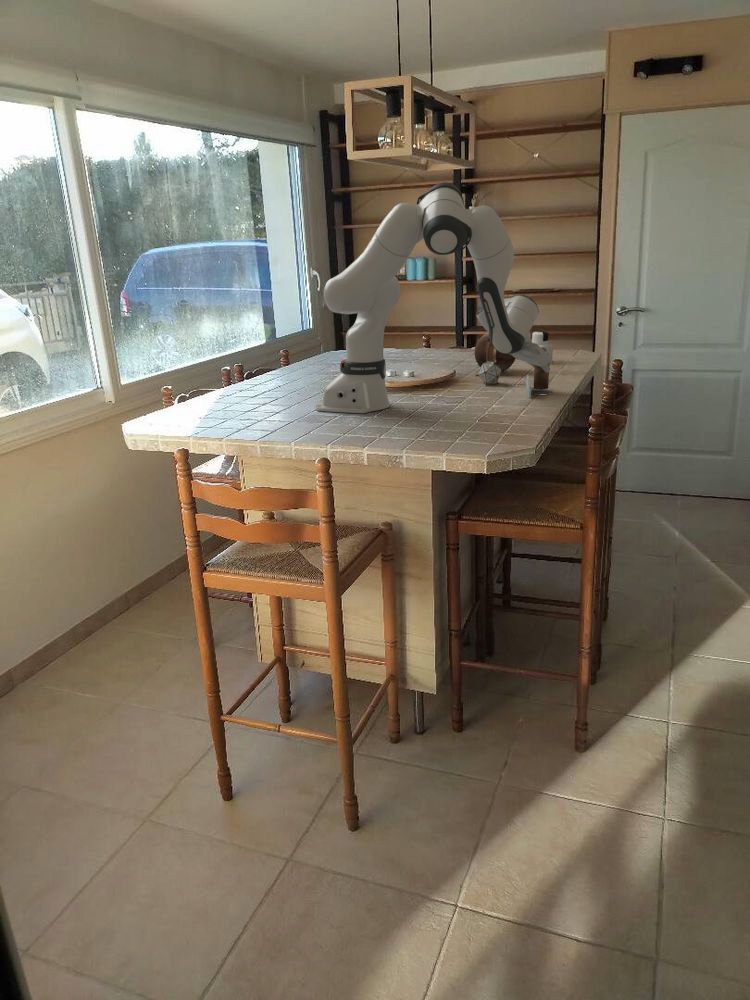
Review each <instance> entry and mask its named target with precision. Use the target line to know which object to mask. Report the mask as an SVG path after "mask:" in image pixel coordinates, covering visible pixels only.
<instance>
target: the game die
mask: <svg viewBox="0 0 750 1000" xmlns="http://www.w3.org/2000/svg"><path fill="white" fill-rule="evenodd" d="M481 363H482V365H481V367H479V371H478V373H477V374H475V377H478V378H479V379H480V380H482V381H483V384H485V387H487V386H488V384H494V383H496V384H497V385H499V382H498V381H499V379H500V376H501V375H502V373H503V372H502V371H504V369H500V368H499V367H498V366H497V365H496V362H495V363H494V360H492V362H487V363H483V362H482V361H481ZM504 372H505V371H504Z"/></svg>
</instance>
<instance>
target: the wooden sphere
mask: <svg viewBox="0 0 750 1000" xmlns="http://www.w3.org/2000/svg"><path fill="white" fill-rule="evenodd" d="M474 357H475V358H474V359H475V362H476V363H477V366H479V368H481V365H482V363H481V361H482V362H483V363H487V362H492V360H494V363H495V362H496V365H497V366H498V367H499V368H500V369H504V371H502V372H501V373H503V372H506V371H508V369H509V368H510V367H512V366H513V364H514V362H515V361H516V358H515V357H513V356H512V355H511V354H502V353H500V352H498V351H497V350H496V349H495V348H494V347H493V346H492V344H491V342H490V339H489V333H488V332H486V333H485V334H483V335H482V336H481V337H480V338H479V339H478V340H477V342H476V344H475V347H474Z"/></svg>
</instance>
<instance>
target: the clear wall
mask: <svg viewBox="0 0 750 1000" xmlns="http://www.w3.org/2000/svg"><path fill="white" fill-rule="evenodd" d="M525 385H526V386H525V387H526V388H525V389H526V391H527V392H528V393H527V395H528V396H529V397H528V399H529V398H531V399H532V394H531V390H532V383H531V379H530V376H529V375H528V374H527V375H526V384H525Z"/></svg>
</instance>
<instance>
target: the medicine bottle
mask: <svg viewBox="0 0 750 1000" xmlns="http://www.w3.org/2000/svg"><path fill="white" fill-rule="evenodd" d="M531 337H532V338H531V342H532V343H535V344H537V345H539V346H540V347H544V348H545V349H546V353H548V354H549V356H550V357H551V359H552V361H551V362H550V364H552V363H553V354H554V353H553V351H554V345H553V344H551V343H549V332H547V331H542V330H541V331H534V332H532V334H531ZM525 363H526V364H528V365H530V364H529V363H528V362H525Z"/></svg>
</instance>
